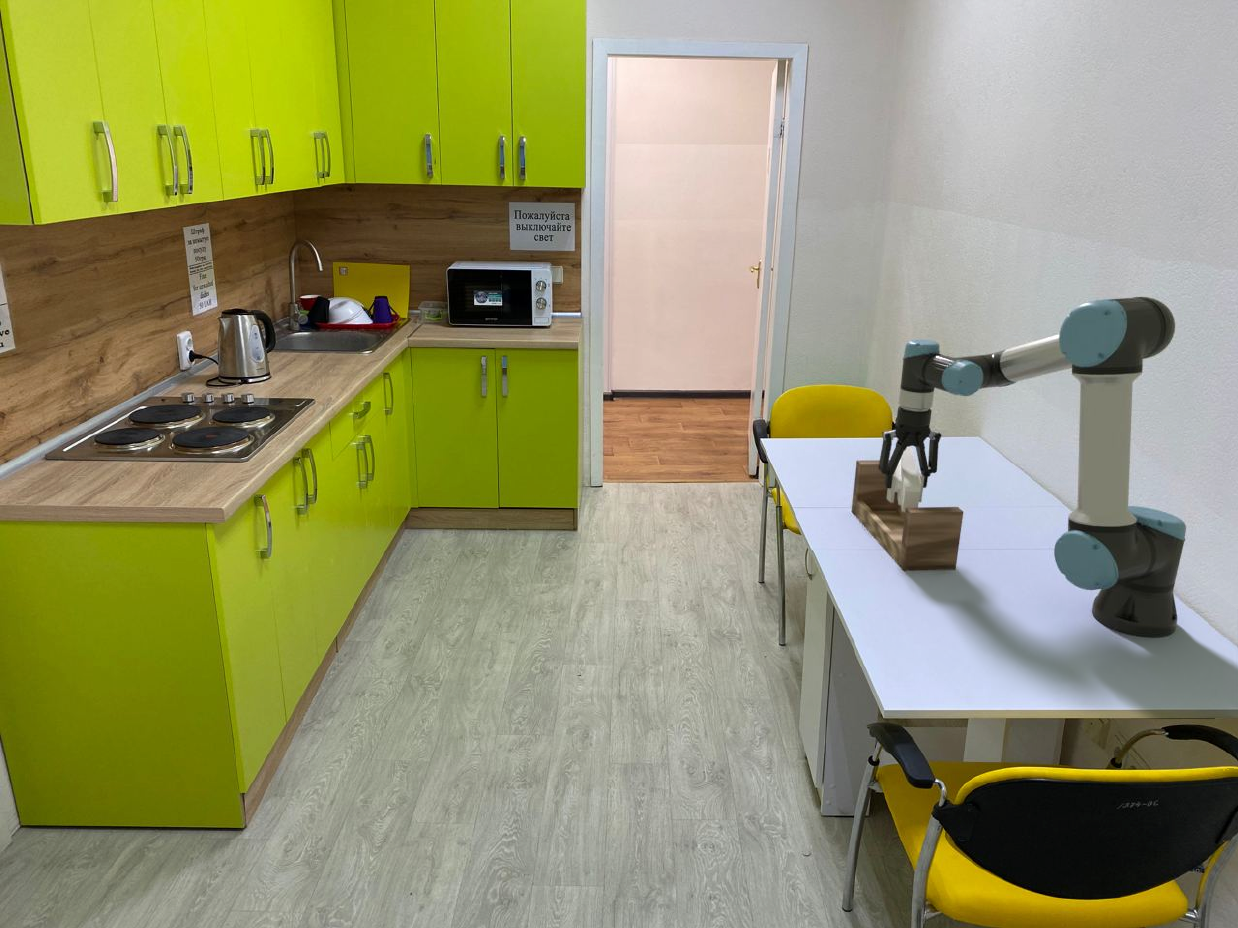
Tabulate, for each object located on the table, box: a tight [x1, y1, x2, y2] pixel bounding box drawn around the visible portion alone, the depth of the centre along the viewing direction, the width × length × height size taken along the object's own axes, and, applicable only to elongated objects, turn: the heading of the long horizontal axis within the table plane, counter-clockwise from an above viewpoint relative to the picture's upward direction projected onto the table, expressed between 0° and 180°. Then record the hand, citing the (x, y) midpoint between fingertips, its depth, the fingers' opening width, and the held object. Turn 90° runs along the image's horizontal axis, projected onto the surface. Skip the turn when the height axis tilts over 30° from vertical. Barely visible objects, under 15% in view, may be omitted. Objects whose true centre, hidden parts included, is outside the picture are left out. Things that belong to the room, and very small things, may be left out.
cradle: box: [851, 459, 964, 572], centre depth 230 cm, size 37×12×14 cm, turn 5°
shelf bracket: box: [894, 446, 921, 512], centre depth 229 cm, size 6×25×13 cm, turn 170°
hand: (903, 500), depth 229 cm, fingers closed on shelf bracket, 6 cm apart
